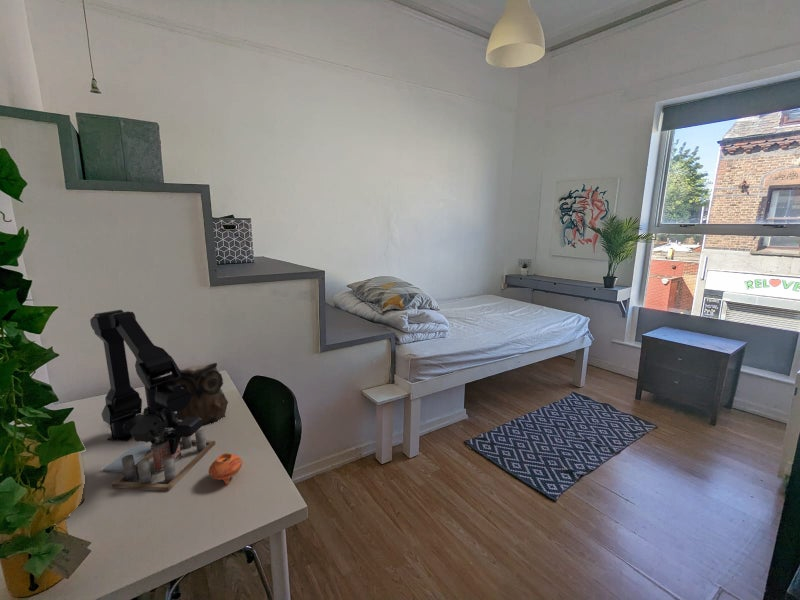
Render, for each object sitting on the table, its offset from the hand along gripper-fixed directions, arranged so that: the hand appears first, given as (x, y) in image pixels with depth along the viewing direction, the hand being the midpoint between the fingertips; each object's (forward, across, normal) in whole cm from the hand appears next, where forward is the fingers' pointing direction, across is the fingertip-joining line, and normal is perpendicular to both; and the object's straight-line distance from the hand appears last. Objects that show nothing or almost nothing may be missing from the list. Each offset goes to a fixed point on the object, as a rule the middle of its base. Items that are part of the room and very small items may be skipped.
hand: (167, 453), depth 100 cm
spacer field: (+3, 0, 0) cm, 3 cm away
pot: (+3, +19, -4) cm, 20 cm away
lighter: (+3, 0, 0) cm, 3 cm away
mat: (+3, -12, +1) cm, 12 cm away
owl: (+3, -5, +24) cm, 25 cm away
